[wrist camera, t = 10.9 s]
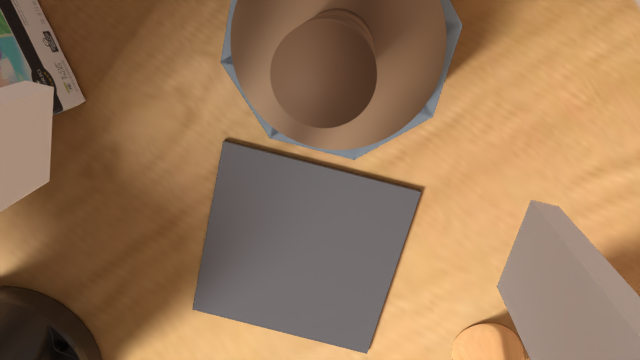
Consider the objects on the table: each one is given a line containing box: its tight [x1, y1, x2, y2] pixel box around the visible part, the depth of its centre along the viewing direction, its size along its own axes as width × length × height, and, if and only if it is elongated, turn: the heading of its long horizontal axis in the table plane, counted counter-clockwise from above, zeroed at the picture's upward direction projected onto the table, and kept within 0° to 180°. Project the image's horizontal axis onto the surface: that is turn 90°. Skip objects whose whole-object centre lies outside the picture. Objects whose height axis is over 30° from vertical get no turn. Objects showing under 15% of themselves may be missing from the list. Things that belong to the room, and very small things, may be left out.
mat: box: [193, 140, 421, 354], centre depth 45 cm, size 16×16×1 cm
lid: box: [230, 0, 446, 150], centre depth 28 cm, size 13×13×12 cm
